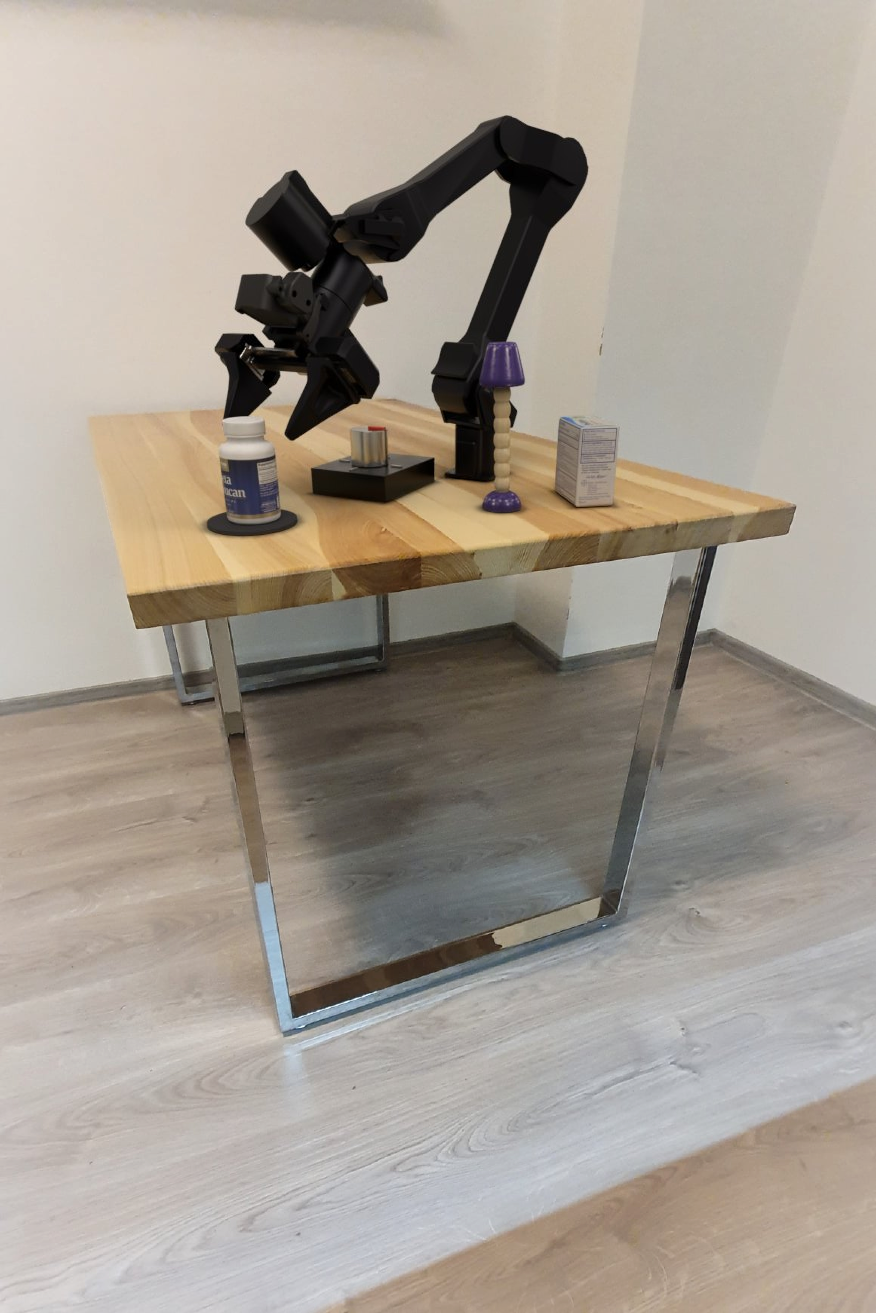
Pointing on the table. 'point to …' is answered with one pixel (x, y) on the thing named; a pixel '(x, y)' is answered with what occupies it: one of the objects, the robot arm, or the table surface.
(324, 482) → the panel
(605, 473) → the medicine box
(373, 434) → the dial
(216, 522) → the coaster
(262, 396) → the robot arm
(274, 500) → the pill bottle
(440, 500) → the table surface
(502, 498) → the toy lamp
